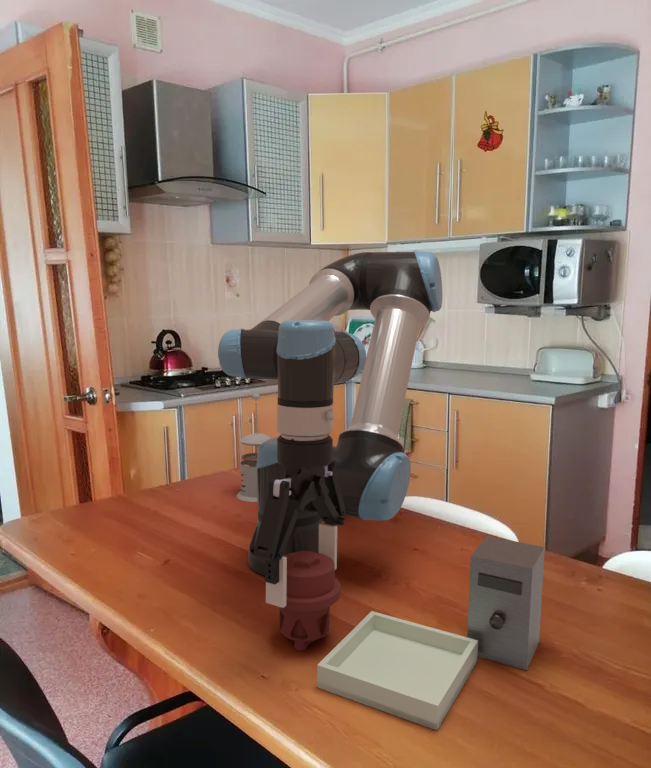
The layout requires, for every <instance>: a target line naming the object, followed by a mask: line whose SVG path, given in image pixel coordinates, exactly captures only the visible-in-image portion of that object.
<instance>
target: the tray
mask: <svg viewBox="0 0 651 768" xmlns="http://www.w3.org/2000/svg"><path fill="white" fill-rule="evenodd" d="M477 653H478V640H474V639H471V638H467V637H466V636H463V635H459V634H457V633H453V632H449V631H445V630H442V629H438V628H435V627H430V626H427V625H424V624H420V623H417V622H412V621H409V620H405V619H402V618H398V617H394V616H391V615H388V614H384V613H380V612H378V611H377V612H376V611H373V610H371V611H370V612H369V613H368V614H366V616H365V617H364V618H363V619H362V620H361V621H360V622H359V623H358V624H357V625H356V626H354V628H353V629H352V630H351V631H349V633H348V634H347V635H346V636H345V637H344V638H343V639H341V640H340V642H338V643H337V645H336V646H334V648H332V650H331V651H330V652H329V653H328V654H327V655H326V656H324V658H322V660H320V662H318V663H317V665H316V667H317V668H316V670H317V671H316V688H318V689H321V690H323V691H326V692H328V693H332V694H335V695H336V696H337V695H338V696H340V697H343V698H345V699H349V700H351V701H354V702H357V703H359V704H362V705H365V706H368V707H371V708H373V709H376V710H379V711H382V712H384V713H387V714H390V715H393V716H395V717H398V718H401V719H404V720H407V721H410V722H412V723H414V724H418V725H421V726H423V727H426V728H429V729H432V730H434V731H438V729H439V728H440V727H441V724H442V723H443V721H444V719H445V718H446V716H447V715H448V712H449V711H450V709H451V707H452V706H453V704H454V702H455V701H456V699H457V697H458V696H459V693H460V692H461V690H462V689H463V687H464V685H465V683H466V682H467V680H468V678H469V677H470V675H471V673H472V672H473V670H474V668H475V667H476V664H477V663H478V656H477Z"/></svg>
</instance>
